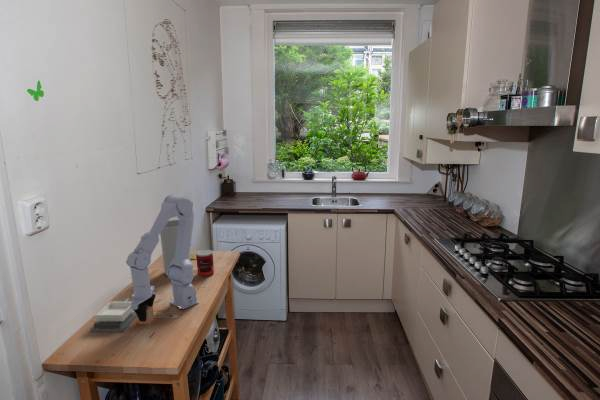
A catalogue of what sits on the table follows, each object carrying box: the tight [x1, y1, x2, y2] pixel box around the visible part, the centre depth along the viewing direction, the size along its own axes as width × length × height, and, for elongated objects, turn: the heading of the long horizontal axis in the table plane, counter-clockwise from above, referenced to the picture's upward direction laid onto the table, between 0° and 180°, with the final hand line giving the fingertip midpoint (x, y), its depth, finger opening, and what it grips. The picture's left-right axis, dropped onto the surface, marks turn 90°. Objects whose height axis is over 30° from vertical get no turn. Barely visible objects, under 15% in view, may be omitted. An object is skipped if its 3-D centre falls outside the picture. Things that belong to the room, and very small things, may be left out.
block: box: [137, 305, 155, 325], centre depth 136 cm, size 4×4×5 cm
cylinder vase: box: [159, 219, 192, 276], centre depth 177 cm, size 12×12×25 cm
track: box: [90, 298, 138, 333], centre depth 141 cm, size 22×12×3 cm, turn 177°
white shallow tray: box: [94, 301, 133, 322], centre depth 136 cm, size 10×10×4 cm
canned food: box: [195, 249, 215, 278], centre depth 176 cm, size 8×8×11 cm
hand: (145, 317), depth 136 cm, fingers open, 4 cm apart
